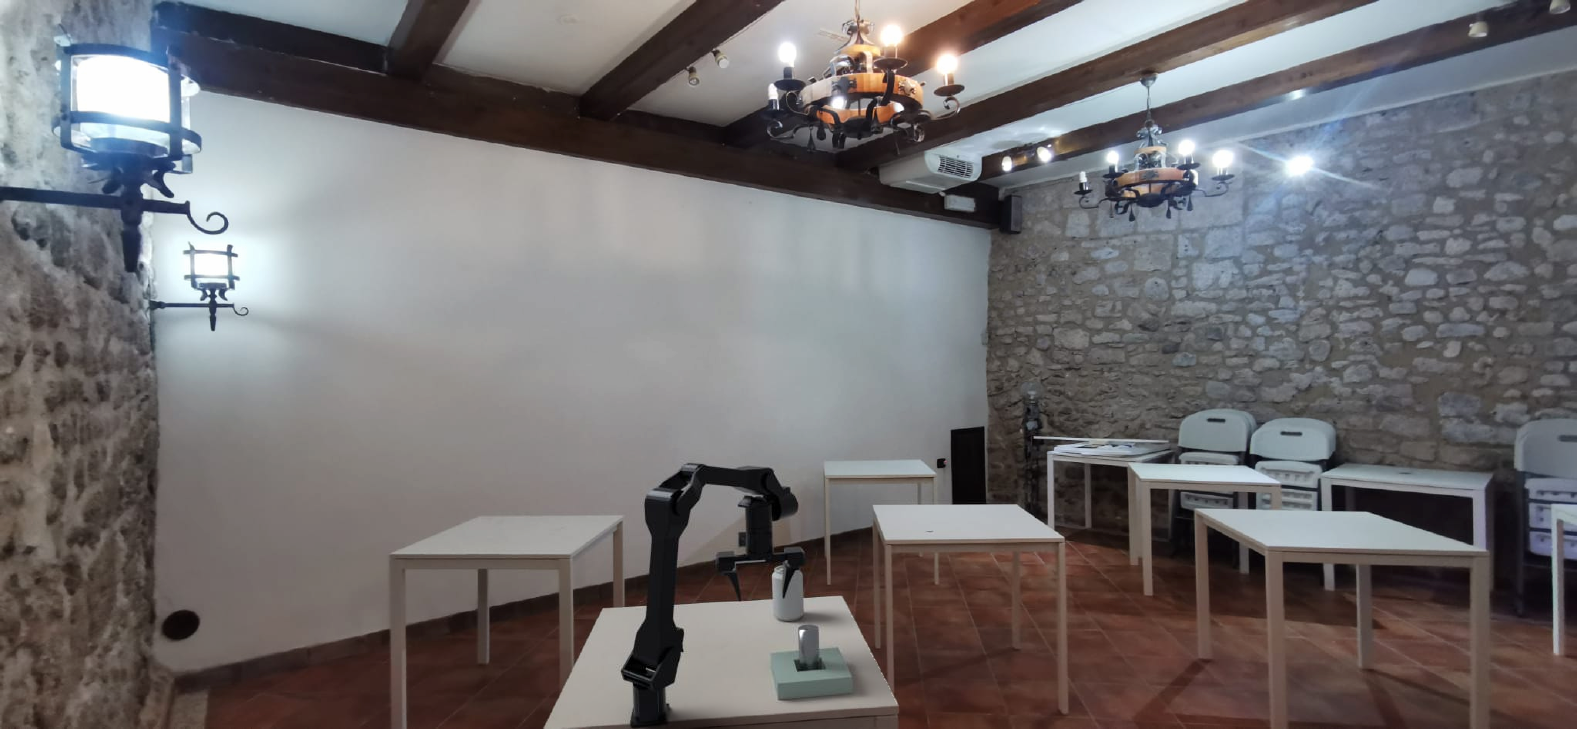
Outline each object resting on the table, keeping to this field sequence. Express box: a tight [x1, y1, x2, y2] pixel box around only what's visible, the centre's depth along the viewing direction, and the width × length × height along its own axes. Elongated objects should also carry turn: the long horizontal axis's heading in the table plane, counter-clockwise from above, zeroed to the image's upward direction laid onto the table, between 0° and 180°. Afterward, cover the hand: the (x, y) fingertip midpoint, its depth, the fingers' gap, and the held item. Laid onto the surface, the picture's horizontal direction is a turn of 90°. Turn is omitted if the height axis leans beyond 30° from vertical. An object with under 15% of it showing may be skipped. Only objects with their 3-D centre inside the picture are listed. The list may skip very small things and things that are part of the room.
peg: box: [797, 624, 820, 672], centre depth 138 cm, size 4×4×10 cm
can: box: [771, 564, 805, 622], centre depth 173 cm, size 8×8×12 cm
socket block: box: [770, 647, 854, 701], centre depth 138 cm, size 14×14×3 cm
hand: (761, 599), depth 150 cm, fingers open, 9 cm apart
